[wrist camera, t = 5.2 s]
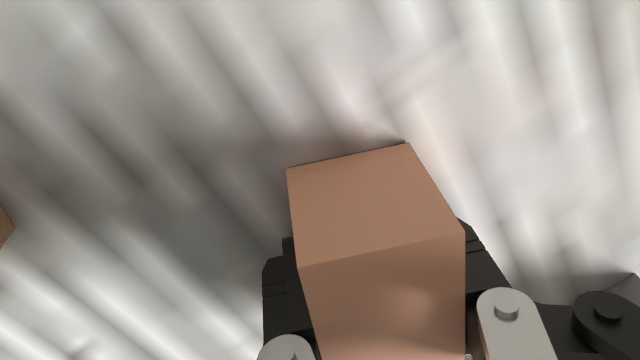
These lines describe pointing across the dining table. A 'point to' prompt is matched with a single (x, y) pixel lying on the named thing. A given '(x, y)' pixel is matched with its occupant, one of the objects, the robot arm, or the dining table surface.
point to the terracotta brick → (378, 257)
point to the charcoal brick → (628, 289)
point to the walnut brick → (5, 226)
